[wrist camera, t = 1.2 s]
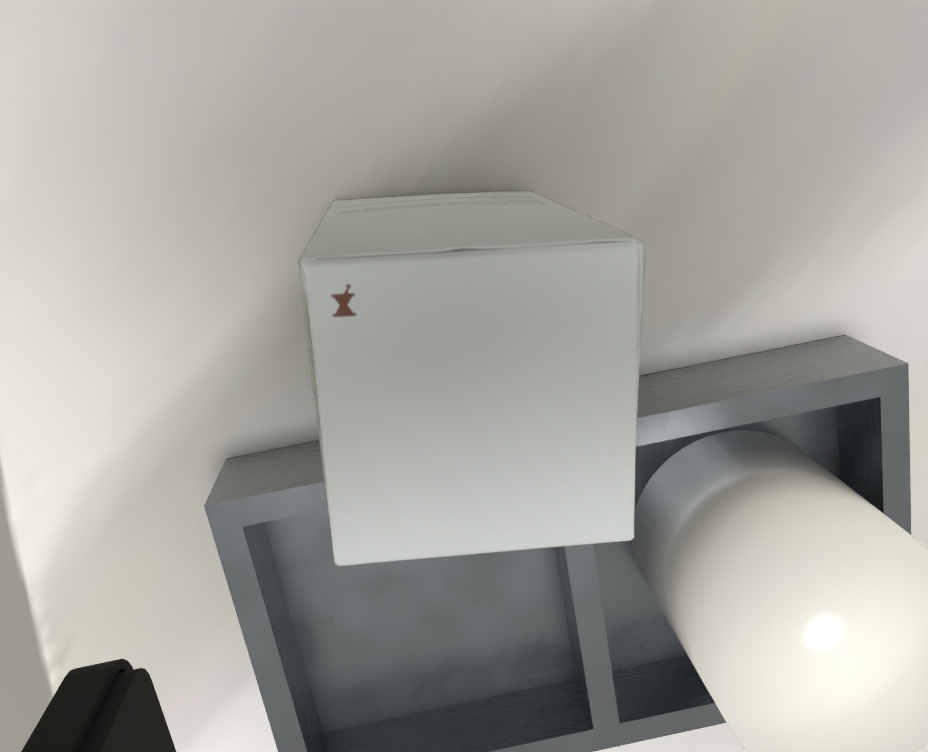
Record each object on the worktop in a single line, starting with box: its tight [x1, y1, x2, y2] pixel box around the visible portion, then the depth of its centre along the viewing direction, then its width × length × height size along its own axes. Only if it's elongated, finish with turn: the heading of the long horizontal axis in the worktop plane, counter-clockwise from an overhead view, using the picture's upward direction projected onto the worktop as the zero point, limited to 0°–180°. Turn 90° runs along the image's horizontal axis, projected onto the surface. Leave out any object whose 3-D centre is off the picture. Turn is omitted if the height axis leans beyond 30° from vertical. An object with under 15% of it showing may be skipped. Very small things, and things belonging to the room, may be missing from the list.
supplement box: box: [299, 191, 645, 566], centre depth 24 cm, size 7×7×13 cm
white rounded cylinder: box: [631, 430, 928, 752], centre depth 28 cm, size 8×8×9 cm
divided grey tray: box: [204, 335, 911, 752], centre depth 32 cm, size 13×24×4 cm, turn 100°
